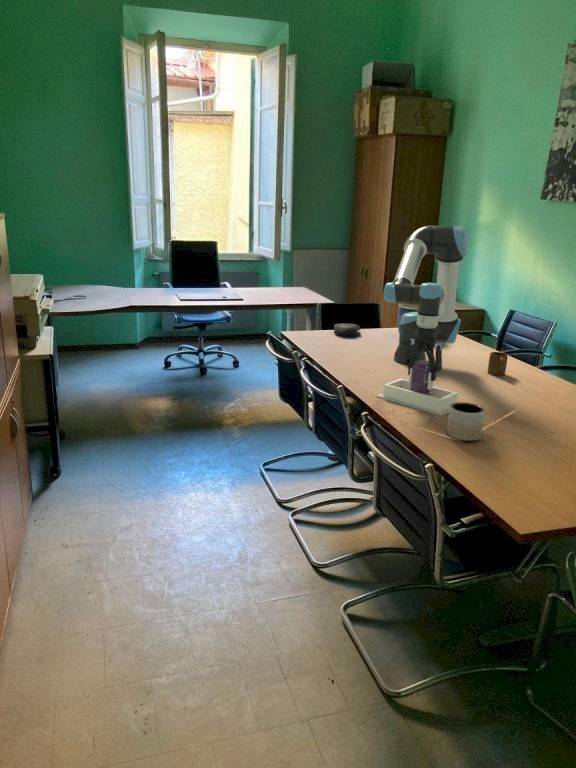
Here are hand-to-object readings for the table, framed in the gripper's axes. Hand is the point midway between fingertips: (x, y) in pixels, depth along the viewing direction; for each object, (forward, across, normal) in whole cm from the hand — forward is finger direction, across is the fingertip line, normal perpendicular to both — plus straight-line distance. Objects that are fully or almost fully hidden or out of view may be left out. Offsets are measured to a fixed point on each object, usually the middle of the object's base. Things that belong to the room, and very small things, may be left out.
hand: (420, 386), depth 216 cm
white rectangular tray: (+6, 0, 0) cm, 6 cm away
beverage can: (+3, 0, 0) cm, 3 cm away
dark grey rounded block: (+7, -88, +68) cm, 111 cm away
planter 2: (+6, +28, -19) cm, 34 cm away
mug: (+6, +4, +59) cm, 60 cm away
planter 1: (+6, -59, +93) cm, 110 cm away
